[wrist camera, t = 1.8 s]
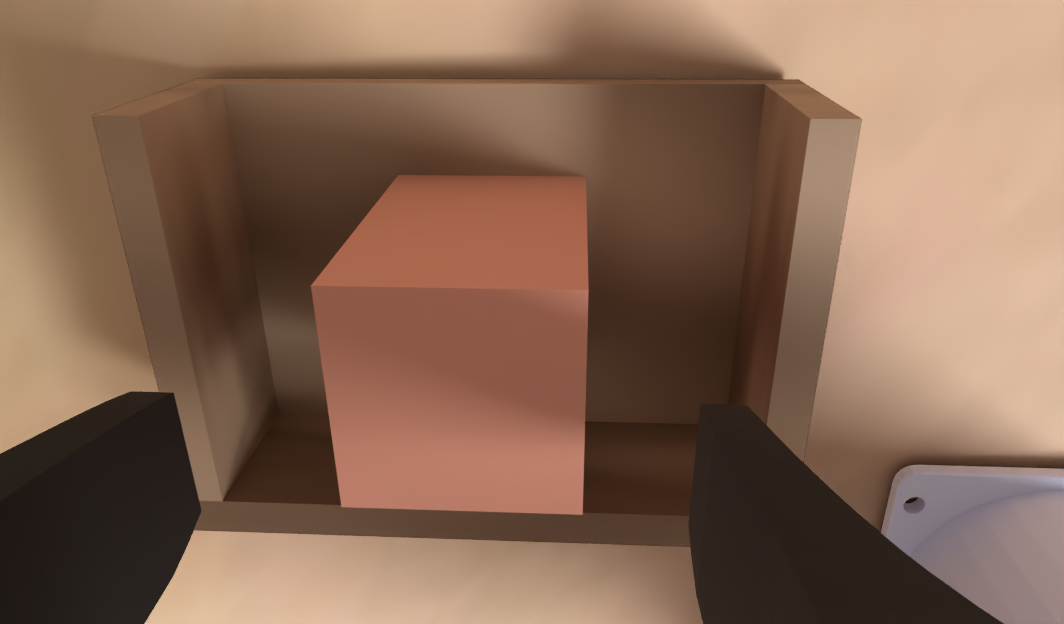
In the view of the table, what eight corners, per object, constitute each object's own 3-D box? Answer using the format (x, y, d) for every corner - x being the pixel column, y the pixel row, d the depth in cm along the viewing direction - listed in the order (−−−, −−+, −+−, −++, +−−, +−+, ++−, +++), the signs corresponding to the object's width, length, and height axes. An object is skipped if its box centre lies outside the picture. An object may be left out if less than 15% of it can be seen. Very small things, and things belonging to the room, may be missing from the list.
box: (750, 439, 20) (788, 550, 16) (261, 426, 20) (192, 529, 17) (798, 79, 16) (862, 118, 12) (197, 78, 17) (92, 115, 13)
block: (582, 344, 18) (582, 514, 13) (411, 341, 18) (341, 506, 13) (586, 176, 17) (588, 290, 11) (398, 174, 17) (311, 286, 11)
